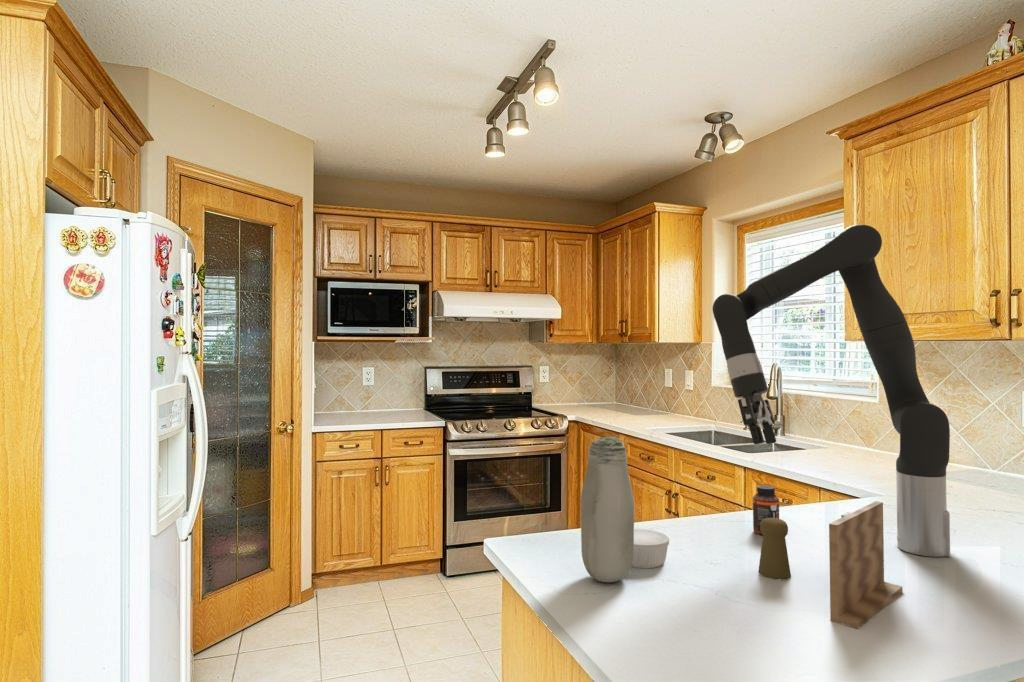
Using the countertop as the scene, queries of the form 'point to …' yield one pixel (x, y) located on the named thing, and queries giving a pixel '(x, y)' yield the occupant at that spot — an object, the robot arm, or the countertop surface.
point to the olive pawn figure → (774, 549)
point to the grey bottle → (607, 512)
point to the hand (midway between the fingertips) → (765, 443)
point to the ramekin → (649, 548)
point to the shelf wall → (858, 567)
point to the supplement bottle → (764, 506)
